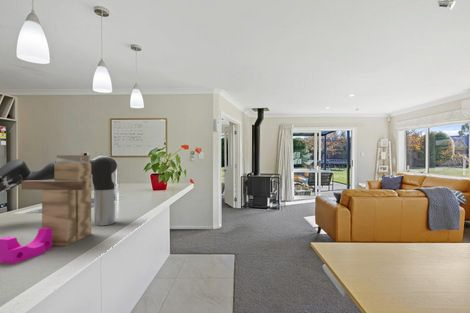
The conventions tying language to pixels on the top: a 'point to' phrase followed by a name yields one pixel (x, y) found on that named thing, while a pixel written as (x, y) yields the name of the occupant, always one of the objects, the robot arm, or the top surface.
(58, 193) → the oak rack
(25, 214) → the top surface
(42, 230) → the toy block
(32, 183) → the walnut bar
